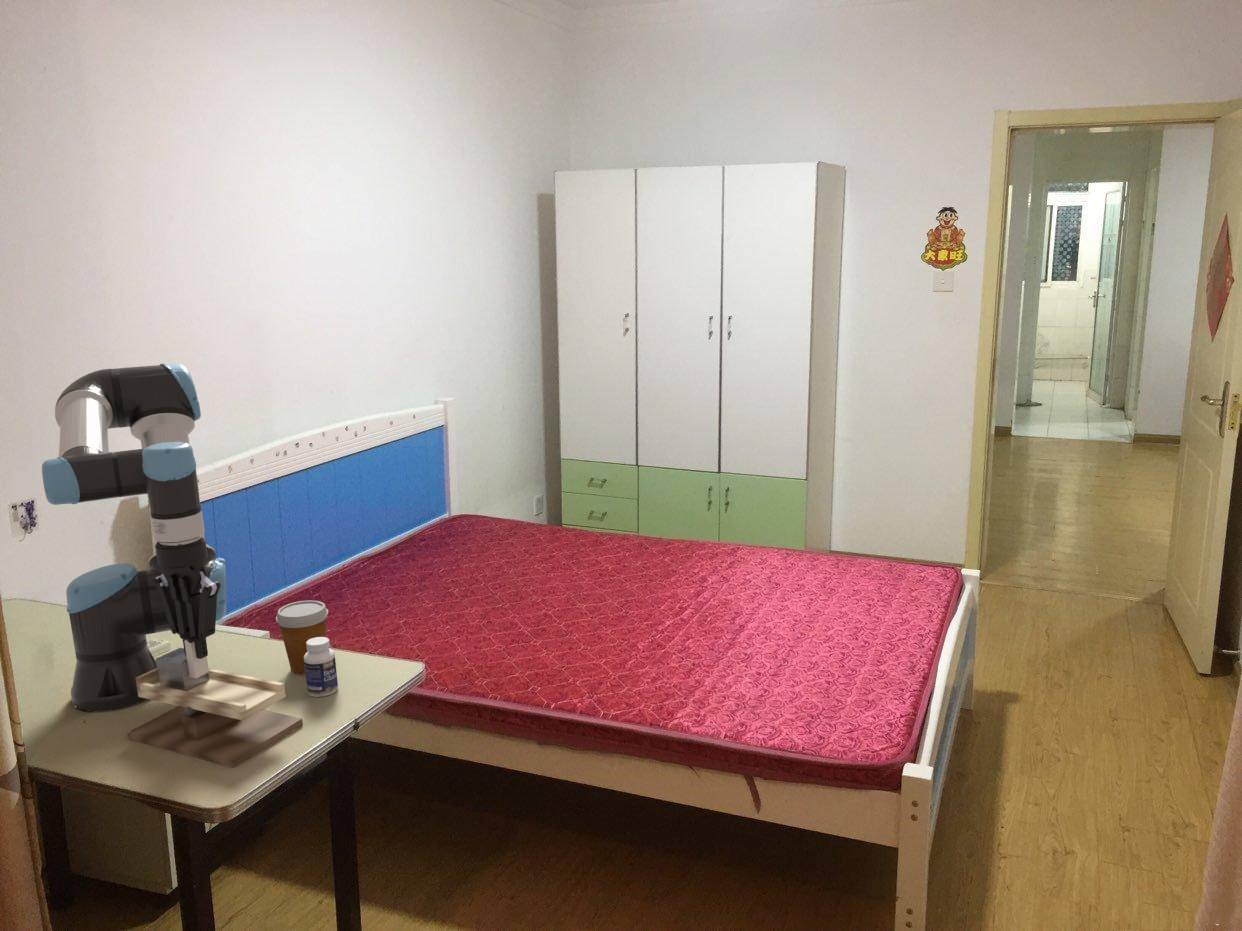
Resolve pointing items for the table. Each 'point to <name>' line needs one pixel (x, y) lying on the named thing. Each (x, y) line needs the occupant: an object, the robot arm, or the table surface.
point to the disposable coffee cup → (301, 629)
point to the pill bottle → (320, 668)
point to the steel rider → (177, 671)
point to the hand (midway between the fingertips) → (199, 674)
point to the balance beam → (216, 694)
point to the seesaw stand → (215, 734)
